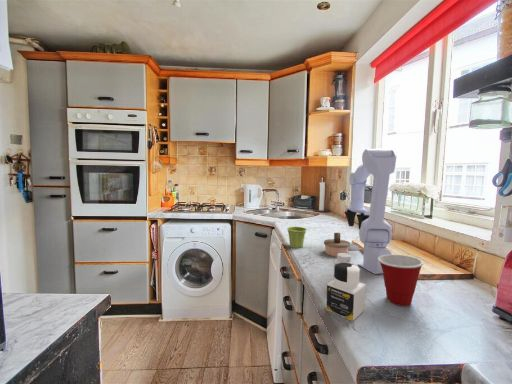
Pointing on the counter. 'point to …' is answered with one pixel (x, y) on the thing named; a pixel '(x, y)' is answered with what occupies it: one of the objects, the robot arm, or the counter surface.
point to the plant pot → (296, 236)
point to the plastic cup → (400, 277)
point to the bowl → (335, 250)
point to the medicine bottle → (346, 292)
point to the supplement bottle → (343, 258)
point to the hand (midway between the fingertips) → (356, 228)
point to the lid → (337, 242)
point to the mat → (353, 248)
